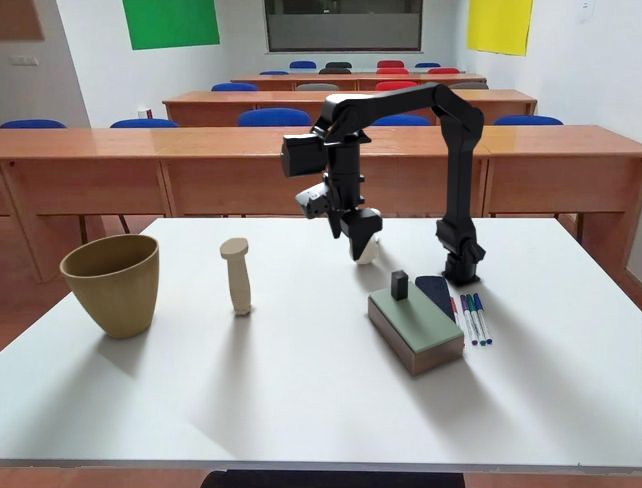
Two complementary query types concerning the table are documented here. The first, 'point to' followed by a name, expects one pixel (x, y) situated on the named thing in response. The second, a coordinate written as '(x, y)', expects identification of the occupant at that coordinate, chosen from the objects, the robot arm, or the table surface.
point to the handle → (237, 273)
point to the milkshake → (375, 235)
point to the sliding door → (414, 314)
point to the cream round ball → (367, 253)
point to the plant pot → (116, 281)
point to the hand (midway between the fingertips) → (345, 248)
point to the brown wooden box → (405, 352)
